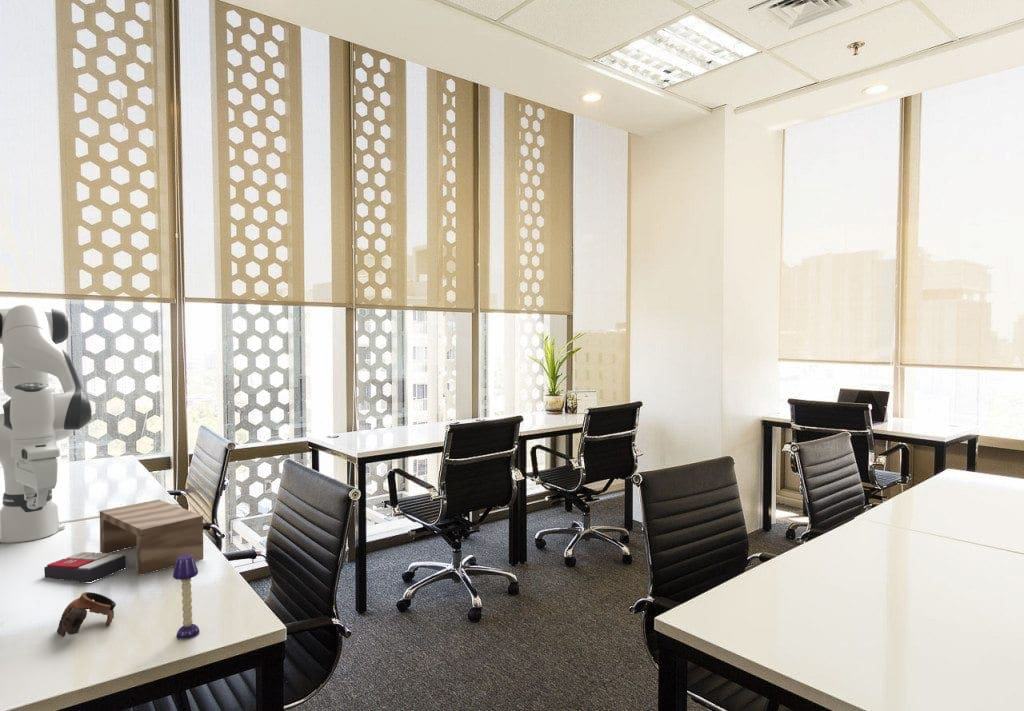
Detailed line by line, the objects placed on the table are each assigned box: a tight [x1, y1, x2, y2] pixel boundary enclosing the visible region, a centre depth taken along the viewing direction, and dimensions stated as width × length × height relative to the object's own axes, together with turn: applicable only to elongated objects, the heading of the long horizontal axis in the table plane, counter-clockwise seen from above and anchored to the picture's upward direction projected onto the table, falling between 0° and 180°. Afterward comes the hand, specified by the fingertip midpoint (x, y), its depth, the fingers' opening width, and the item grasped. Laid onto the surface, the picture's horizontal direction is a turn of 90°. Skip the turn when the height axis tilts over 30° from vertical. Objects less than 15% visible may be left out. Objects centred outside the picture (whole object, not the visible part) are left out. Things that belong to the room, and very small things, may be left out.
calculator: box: [43, 551, 127, 583], centre depth 161 cm, size 11×4×15 cm
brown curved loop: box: [56, 591, 117, 638], centre depth 130 cm, size 12×10×8 cm
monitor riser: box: [99, 499, 204, 576], centre depth 174 cm, size 28×16×12 cm, turn 53°
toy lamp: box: [172, 554, 201, 640], centre depth 128 cm, size 5×5×17 cm
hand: (35, 503), depth 153 cm, fingers open, 8 cm apart
